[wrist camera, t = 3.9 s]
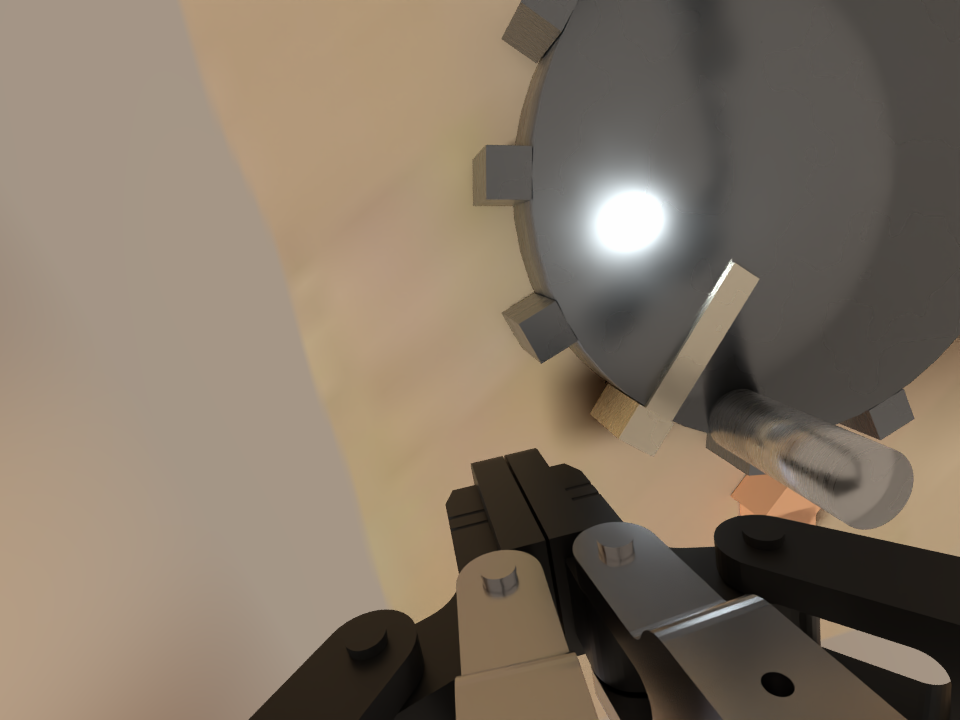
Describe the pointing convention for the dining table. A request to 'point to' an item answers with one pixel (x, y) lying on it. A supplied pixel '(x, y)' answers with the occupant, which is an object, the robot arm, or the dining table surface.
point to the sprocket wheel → (743, 223)
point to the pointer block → (773, 500)
